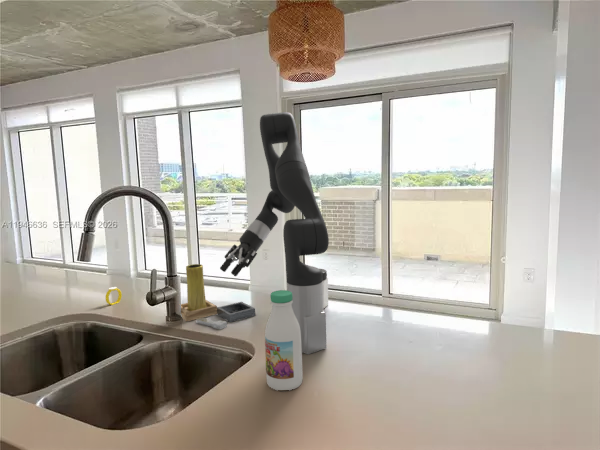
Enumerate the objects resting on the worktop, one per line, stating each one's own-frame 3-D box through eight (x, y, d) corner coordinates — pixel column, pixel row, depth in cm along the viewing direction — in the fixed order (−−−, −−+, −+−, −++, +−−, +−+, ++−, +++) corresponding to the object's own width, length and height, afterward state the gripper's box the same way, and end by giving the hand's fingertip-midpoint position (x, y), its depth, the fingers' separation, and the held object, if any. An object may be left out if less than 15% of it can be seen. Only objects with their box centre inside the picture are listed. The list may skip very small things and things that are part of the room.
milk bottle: (283, 370, 93) (280, 285, 91) (309, 380, 88) (307, 291, 86) (259, 384, 87) (255, 294, 85) (286, 396, 83) (282, 300, 80)
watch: (110, 307, 145) (108, 291, 143) (105, 306, 146) (102, 290, 145) (124, 301, 150) (121, 285, 149) (118, 300, 151) (116, 285, 150)
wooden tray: (219, 313, 133) (218, 306, 133) (186, 321, 127) (186, 313, 127) (205, 305, 142) (205, 298, 142) (174, 312, 136) (174, 305, 136)
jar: (333, 305, 138) (332, 271, 136) (315, 311, 132) (314, 275, 131) (315, 300, 144) (314, 266, 143) (297, 305, 139) (296, 270, 138)
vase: (183, 310, 133) (180, 267, 131) (193, 304, 138) (190, 263, 137) (200, 311, 131) (197, 268, 129) (209, 305, 137) (207, 264, 135)
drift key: (226, 326, 122) (226, 322, 122) (220, 329, 119) (219, 325, 119) (202, 320, 128) (202, 316, 127) (195, 323, 125) (195, 318, 125)
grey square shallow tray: (255, 315, 131) (255, 308, 130) (229, 322, 125) (229, 314, 125) (241, 308, 138) (241, 301, 137) (217, 314, 132) (216, 307, 132)
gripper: (238, 227, 149) (211, 263, 144) (258, 230, 138) (229, 269, 132) (252, 240, 153) (225, 275, 147) (272, 244, 141) (244, 282, 136)
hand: (227, 272), depth 140 cm, fingers open, 8 cm apart
